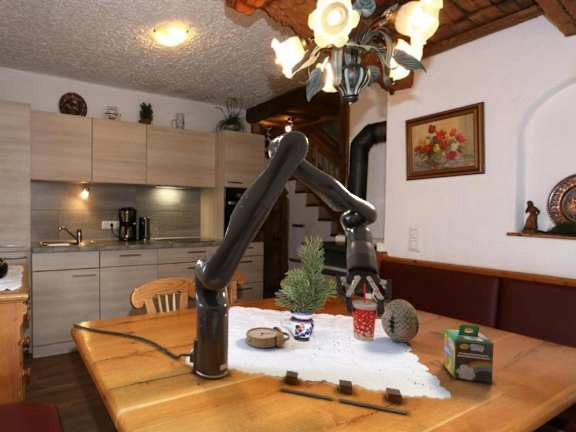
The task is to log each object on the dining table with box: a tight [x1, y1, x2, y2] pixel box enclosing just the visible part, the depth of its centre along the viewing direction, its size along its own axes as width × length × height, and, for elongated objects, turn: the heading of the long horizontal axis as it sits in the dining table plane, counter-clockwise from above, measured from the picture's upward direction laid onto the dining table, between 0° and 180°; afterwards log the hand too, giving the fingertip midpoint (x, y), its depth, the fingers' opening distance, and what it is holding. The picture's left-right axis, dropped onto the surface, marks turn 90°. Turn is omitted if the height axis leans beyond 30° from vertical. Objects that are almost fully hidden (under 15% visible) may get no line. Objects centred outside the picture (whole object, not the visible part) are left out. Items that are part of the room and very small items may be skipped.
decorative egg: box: [380, 298, 420, 343], centre depth 127 cm, size 12×12×15 cm
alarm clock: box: [245, 326, 291, 349], centre depth 123 cm, size 11×5×15 cm
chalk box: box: [443, 323, 495, 385], centre depth 102 cm, size 9×9×15 cm
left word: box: [281, 370, 333, 401], centre depth 93 cm, size 12×8×2 cm, turn 70°
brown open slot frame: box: [338, 379, 407, 416], centre depth 87 cm, size 14×8×2 cm, turn 70°
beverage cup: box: [352, 284, 378, 343], centre depth 90 cm, size 6×6×14 cm
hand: (365, 313), depth 88 cm, fingers closed on beverage cup, 6 cm apart
